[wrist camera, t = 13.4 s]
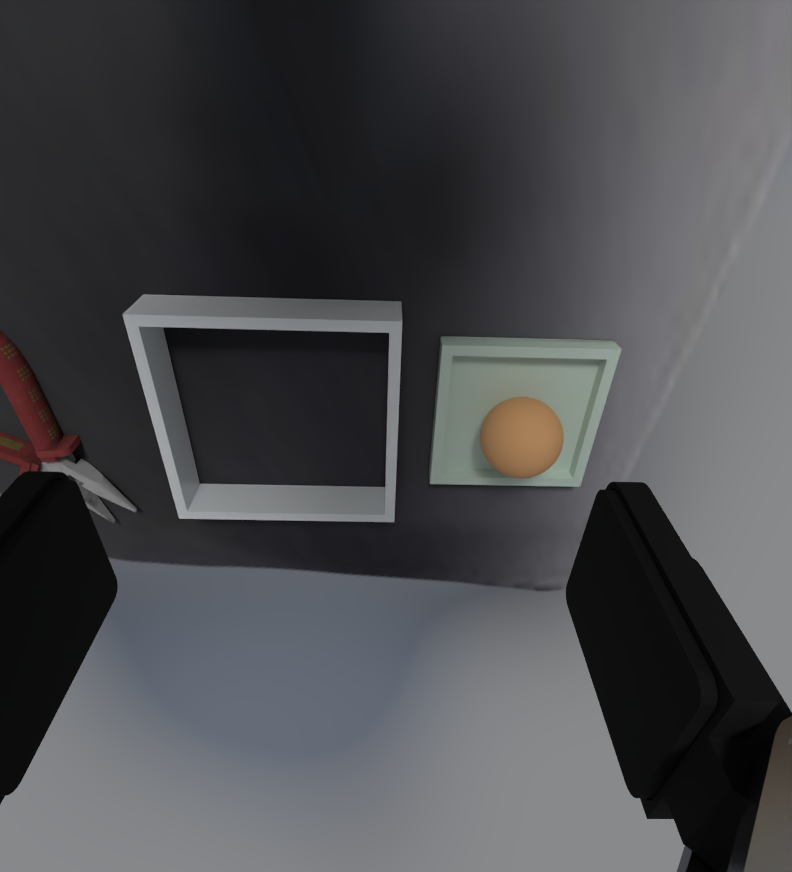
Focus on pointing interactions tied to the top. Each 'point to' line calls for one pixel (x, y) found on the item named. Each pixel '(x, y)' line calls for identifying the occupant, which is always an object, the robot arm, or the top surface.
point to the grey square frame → (258, 315)
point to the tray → (517, 377)
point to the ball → (521, 437)
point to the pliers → (47, 436)
